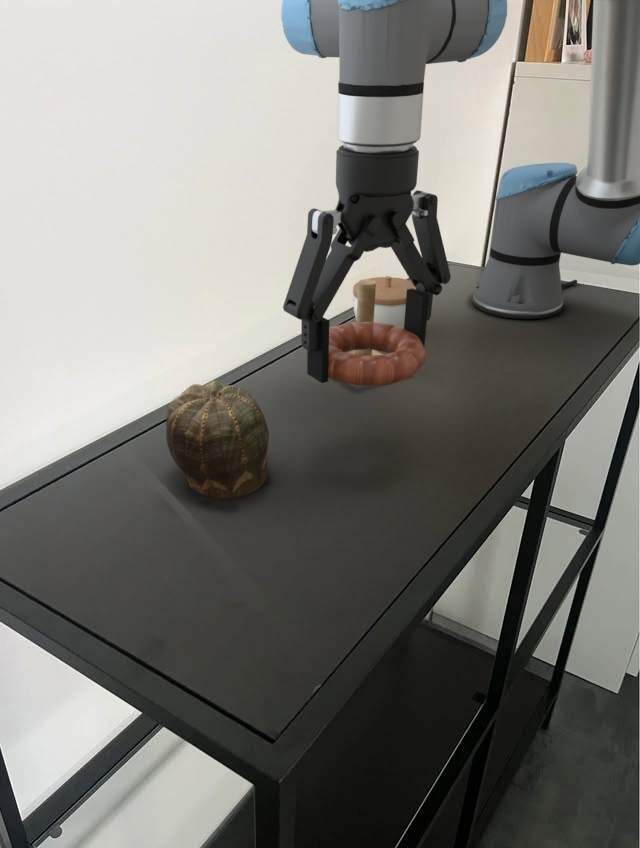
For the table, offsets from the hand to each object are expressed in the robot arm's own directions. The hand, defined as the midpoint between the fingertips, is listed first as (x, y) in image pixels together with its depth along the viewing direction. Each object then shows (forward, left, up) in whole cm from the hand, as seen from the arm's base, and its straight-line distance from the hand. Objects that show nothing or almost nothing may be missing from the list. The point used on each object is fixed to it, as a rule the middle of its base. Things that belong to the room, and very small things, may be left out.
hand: (366, 363), depth 81 cm
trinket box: (-29, -32, -14) cm, 45 cm away
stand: (-17, -22, -14) cm, 31 cm away
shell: (+15, -6, -14) cm, 21 cm away
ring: (0, 0, +1) cm, 1 cm away
